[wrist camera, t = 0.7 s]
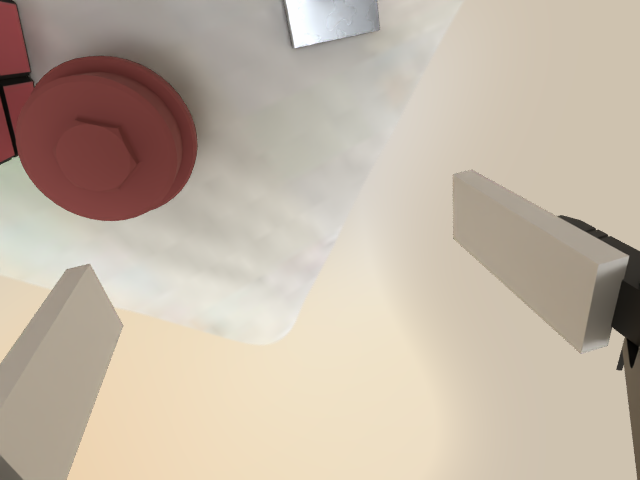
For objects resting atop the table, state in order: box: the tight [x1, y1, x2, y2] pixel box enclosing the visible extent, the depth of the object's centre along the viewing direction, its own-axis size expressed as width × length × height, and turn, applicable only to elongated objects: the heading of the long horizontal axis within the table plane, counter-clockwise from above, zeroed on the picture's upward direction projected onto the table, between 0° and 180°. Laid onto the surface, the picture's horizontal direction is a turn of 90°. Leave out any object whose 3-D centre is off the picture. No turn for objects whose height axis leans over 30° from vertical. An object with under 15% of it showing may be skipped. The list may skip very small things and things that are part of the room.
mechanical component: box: [16, 56, 197, 221], centre depth 27 cm, size 12×10×10 cm
